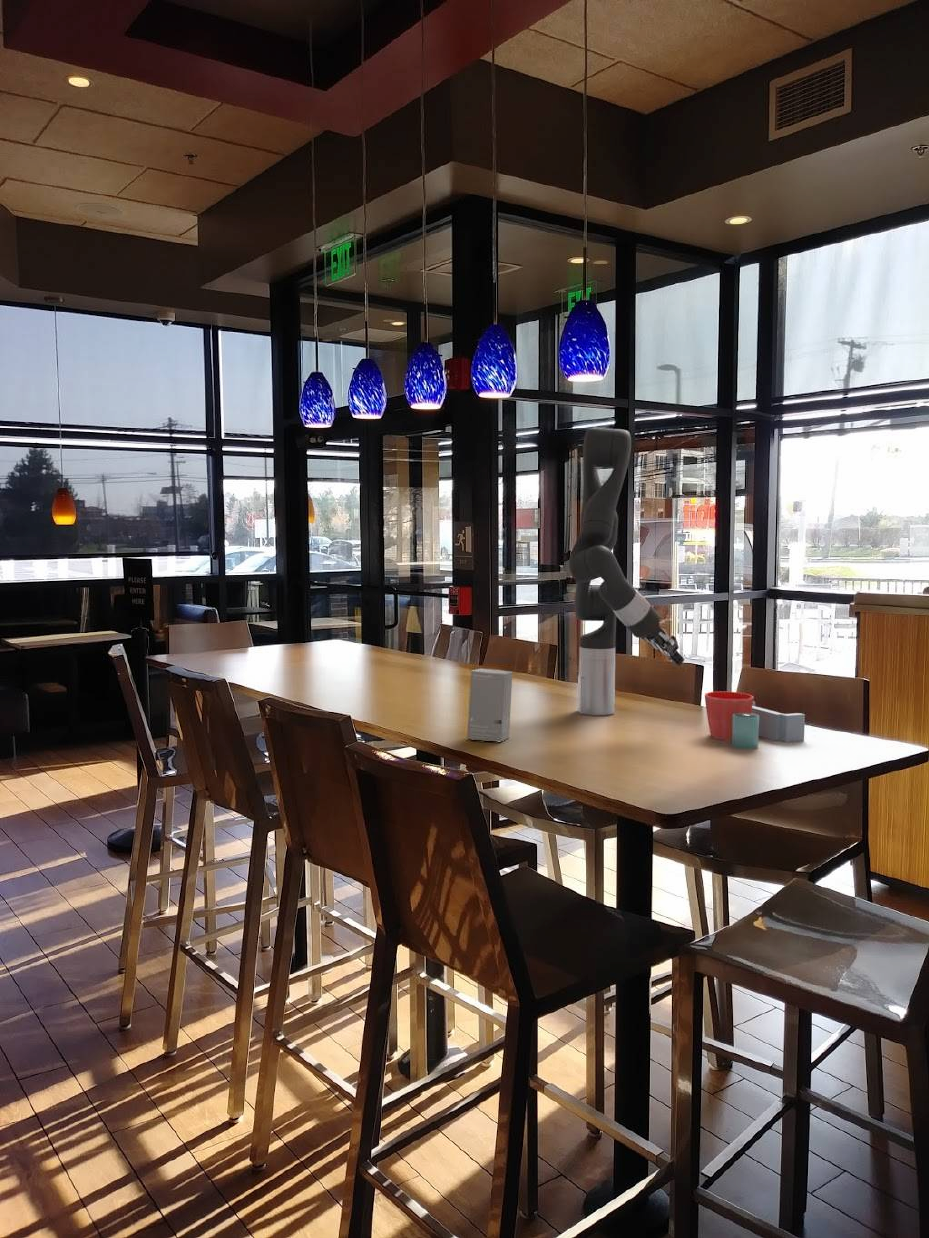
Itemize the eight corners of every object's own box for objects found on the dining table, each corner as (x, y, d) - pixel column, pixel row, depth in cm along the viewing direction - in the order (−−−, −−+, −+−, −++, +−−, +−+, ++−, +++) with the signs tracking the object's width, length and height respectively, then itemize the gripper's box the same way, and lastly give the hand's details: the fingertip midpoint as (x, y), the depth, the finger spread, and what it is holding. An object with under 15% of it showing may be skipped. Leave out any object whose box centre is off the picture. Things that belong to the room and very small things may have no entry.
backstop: (782, 742, 226) (783, 716, 225) (729, 726, 244) (729, 701, 244) (804, 740, 228) (804, 714, 227) (749, 724, 247) (750, 700, 246)
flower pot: (753, 742, 226) (755, 699, 225) (703, 739, 228) (704, 697, 227) (751, 733, 236) (752, 692, 235) (703, 730, 239) (704, 690, 238)
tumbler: (735, 749, 219) (736, 716, 218) (728, 743, 224) (729, 712, 224) (761, 749, 219) (762, 716, 218) (753, 743, 224) (754, 712, 224)
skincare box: (467, 740, 226) (467, 671, 225) (477, 734, 233) (477, 667, 231) (502, 743, 223) (503, 673, 222) (512, 737, 230) (513, 669, 228)
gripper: (661, 604, 226) (706, 655, 231) (631, 598, 238) (675, 646, 244) (639, 628, 224) (685, 679, 230) (611, 621, 237) (655, 669, 243)
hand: (680, 662), depth 237 cm, fingers closed
